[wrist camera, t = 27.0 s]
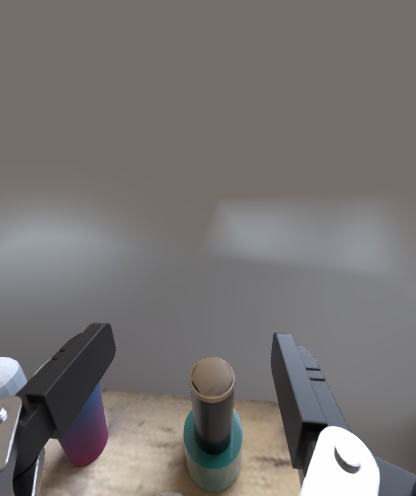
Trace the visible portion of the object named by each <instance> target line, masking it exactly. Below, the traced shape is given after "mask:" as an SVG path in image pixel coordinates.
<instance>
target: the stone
mask: <svg viewBox="0 0 416 496" xmlns="http://www.w3.org/2000/svg"><path fill="white" fill-rule="evenodd" d="M154 496H184V495H182V494H181V493H178V492H174V491H170V492H164V493H160V494H157V495H154Z"/></svg>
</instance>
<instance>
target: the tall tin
mask: <svg viewBox="0 0 416 496" xmlns="http://www.w3.org/2000/svg"><path fill="white" fill-rule="evenodd" d="M189 378H190V379H189V380H190V387H191V396H192V410H193V423H194V436H195V440H196V443H197V445H198V446H199V448H200V449H201V450H202V451H204V452H205V453H207V454H210V455H218V454H220V453H222V452H224V451H225V450H226V449H227V448H228V447H229V445H230V443H231V440H232V436H233V400H234V397H233V396H234V385H235V375H234V371H233V369H232V368H231V366H230V365H229V364H228V363H227V362H226V361H224V360H223V359H220V358H216V357H208V358H204V359H202V360H200V361H198V362H197V363H196V364H195V365H194V366H193V368H192V370H191V372H190V377H189Z"/></svg>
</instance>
